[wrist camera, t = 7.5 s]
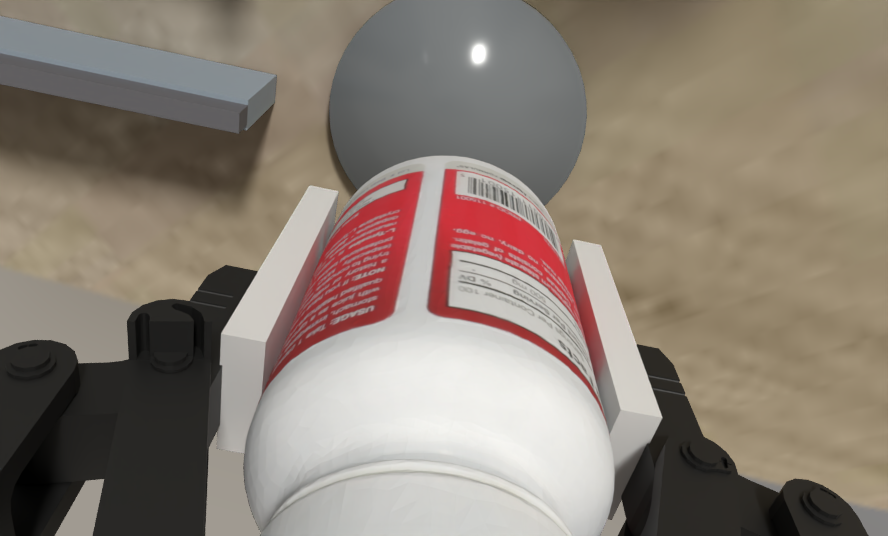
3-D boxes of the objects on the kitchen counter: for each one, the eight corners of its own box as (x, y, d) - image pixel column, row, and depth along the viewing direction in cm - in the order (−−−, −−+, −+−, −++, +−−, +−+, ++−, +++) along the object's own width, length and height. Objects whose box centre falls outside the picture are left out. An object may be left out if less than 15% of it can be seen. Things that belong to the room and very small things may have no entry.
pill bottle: (347, 347, 19) (217, 786, 10) (320, 151, 16) (92, 505, 7) (556, 346, 19) (635, 802, 9) (567, 145, 16) (702, 512, 6)
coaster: (320, 205, 31) (316, 212, 30) (349, -46, 25) (346, -44, 25) (544, 250, 31) (545, 258, 31) (619, 15, 26) (623, 18, 25)
